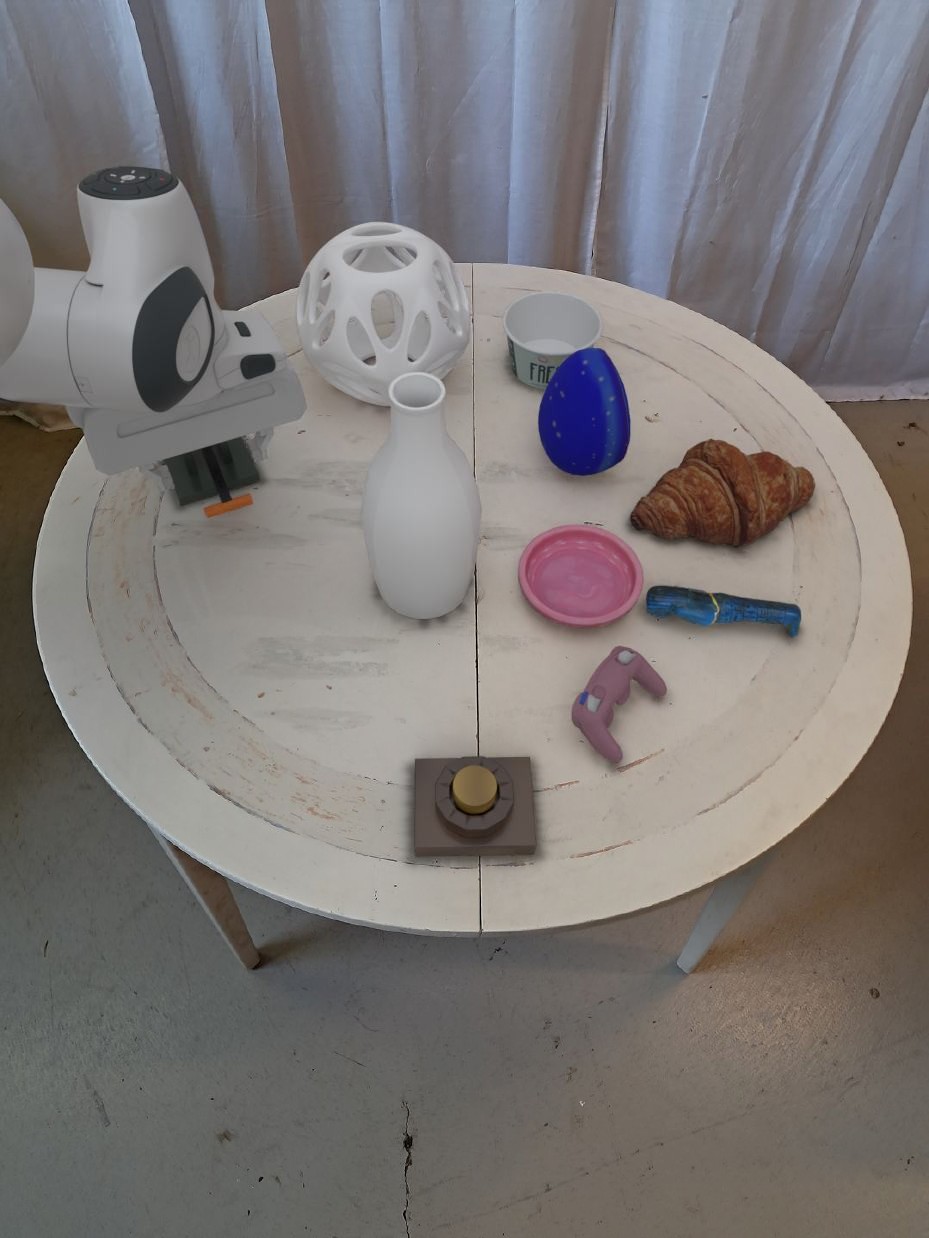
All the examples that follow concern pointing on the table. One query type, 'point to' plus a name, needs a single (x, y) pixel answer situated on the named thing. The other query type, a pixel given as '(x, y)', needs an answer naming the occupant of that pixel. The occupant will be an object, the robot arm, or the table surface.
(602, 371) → the ornament
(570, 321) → the food container
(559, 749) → the table surface
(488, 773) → the button
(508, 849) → the button block
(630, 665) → the video game controller
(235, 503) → the switch lever
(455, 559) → the bottle
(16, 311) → the robot arm
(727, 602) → the figurine
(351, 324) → the decorative ball
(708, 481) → the pastry
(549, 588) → the saucer
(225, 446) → the switch bracket
